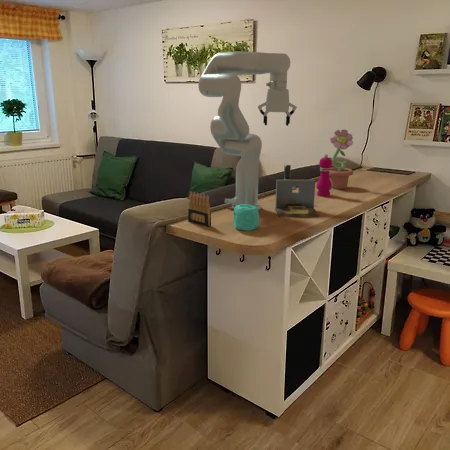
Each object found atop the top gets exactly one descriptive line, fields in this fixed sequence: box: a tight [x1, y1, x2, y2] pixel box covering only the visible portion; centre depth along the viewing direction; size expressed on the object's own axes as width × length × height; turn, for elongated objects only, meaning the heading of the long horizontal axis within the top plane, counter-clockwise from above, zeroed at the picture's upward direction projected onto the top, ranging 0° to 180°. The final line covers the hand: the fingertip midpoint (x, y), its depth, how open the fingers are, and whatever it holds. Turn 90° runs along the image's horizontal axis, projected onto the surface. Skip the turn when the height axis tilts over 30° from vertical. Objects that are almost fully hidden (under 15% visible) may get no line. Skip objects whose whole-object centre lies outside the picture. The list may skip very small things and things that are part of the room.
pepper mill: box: [315, 153, 333, 197], centre depth 219 cm, size 7×7×20 cm
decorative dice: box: [233, 204, 260, 232], centre depth 167 cm, size 8×8×8 cm
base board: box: [274, 207, 320, 218], centre depth 188 cm, size 16×11×1 cm
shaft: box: [283, 164, 297, 191], centre depth 202 cm, size 3×17×8 cm, turn 3°
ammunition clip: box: [187, 191, 212, 228], centre depth 171 cm, size 11×2×12 cm, turn 47°
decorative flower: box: [328, 129, 354, 190], centre depth 235 cm, size 15×14×30 cm
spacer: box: [288, 206, 308, 214], centre depth 186 cm, size 7×2×7 cm
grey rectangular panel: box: [275, 179, 316, 209], centre depth 191 cm, size 16×2×12 cm, turn 93°
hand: (276, 125), depth 205 cm, fingers open, 9 cm apart
